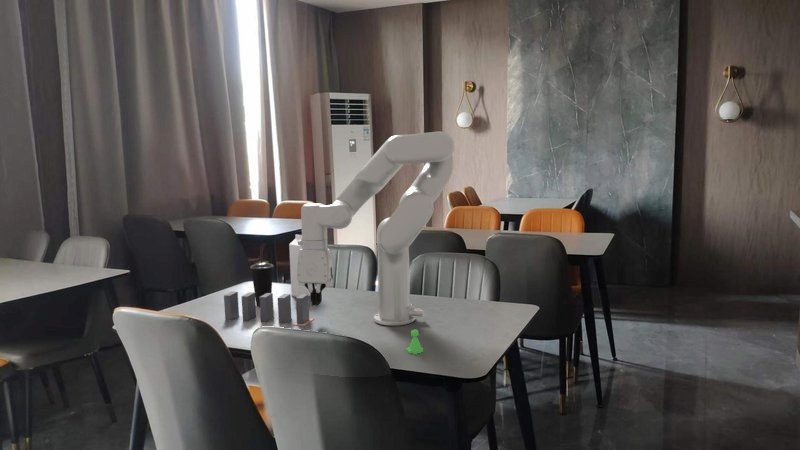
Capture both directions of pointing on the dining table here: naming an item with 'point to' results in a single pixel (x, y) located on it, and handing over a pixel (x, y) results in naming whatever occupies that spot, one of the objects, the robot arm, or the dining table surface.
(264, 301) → the domino
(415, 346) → the game piece
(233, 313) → the domino
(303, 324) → the head marker
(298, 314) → the domino
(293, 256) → the milk
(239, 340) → the dining table surface
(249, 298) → the domino
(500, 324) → the dining table surface
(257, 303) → the drinking cup
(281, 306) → the domino
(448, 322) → the dining table surface
